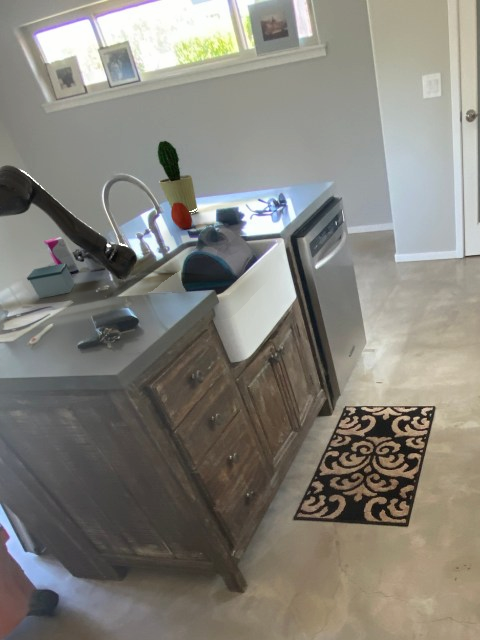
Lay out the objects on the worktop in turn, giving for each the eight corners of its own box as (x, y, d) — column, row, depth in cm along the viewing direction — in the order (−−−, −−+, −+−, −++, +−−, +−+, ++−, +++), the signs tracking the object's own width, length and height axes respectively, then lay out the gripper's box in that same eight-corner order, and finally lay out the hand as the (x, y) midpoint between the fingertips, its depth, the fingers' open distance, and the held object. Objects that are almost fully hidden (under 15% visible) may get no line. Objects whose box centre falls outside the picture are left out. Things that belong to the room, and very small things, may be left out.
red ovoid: (172, 231, 228) (162, 203, 221) (184, 225, 233) (175, 198, 226) (186, 231, 225) (176, 203, 218) (198, 225, 230) (189, 198, 223)
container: (38, 299, 173) (26, 277, 169) (45, 289, 181) (34, 269, 177) (70, 292, 175) (60, 271, 170) (76, 283, 182) (66, 262, 178)
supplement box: (75, 268, 198) (59, 236, 190) (79, 271, 194) (63, 238, 186) (59, 273, 195) (43, 240, 188) (63, 276, 192) (46, 242, 184)
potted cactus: (172, 219, 247) (146, 143, 227) (169, 214, 258) (144, 141, 238) (204, 212, 250) (181, 137, 230) (199, 207, 261) (177, 135, 241)
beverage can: (90, 268, 196) (73, 233, 188) (107, 264, 197) (92, 230, 189) (89, 272, 191) (72, 237, 183) (106, 269, 192) (91, 233, 184)
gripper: (119, 237, 180) (103, 232, 190) (78, 249, 174) (64, 243, 184) (128, 260, 185) (112, 254, 195) (89, 272, 179) (75, 265, 189)
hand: (89, 248), depth 189 cm, fingers open, 8 cm apart
